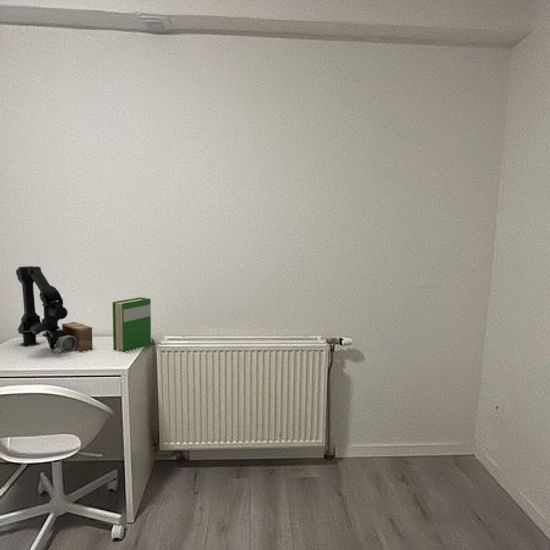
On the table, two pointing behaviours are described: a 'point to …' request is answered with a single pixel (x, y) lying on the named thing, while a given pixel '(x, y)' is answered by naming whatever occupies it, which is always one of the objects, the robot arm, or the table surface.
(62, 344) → the ceramic mug
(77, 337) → the wooden storage tray
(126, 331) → the hardback book
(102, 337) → the table surface
